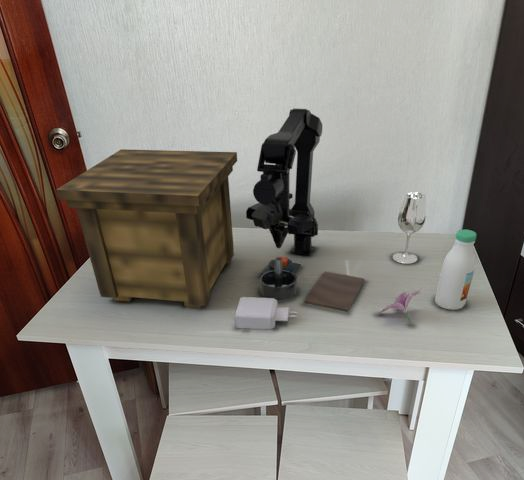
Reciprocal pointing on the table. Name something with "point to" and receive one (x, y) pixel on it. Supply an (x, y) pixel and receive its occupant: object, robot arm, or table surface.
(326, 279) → the cutting board
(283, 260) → the button
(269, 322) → the charger
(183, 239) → the crate
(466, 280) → the milk bottle
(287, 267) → the button block
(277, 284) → the blade
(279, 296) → the dark fan housing
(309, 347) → the table surface
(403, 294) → the lily
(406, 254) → the wineglass
